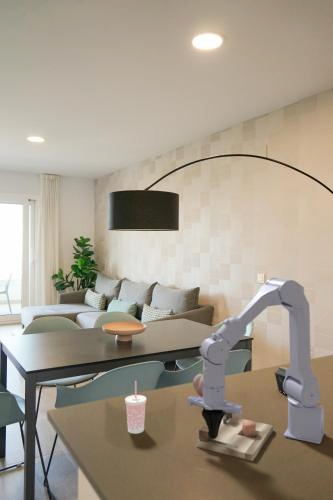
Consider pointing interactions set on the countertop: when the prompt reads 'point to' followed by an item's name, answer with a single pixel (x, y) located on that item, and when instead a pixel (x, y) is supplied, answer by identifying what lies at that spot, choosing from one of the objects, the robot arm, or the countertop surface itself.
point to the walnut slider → (204, 433)
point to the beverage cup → (135, 412)
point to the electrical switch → (280, 378)
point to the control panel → (237, 439)
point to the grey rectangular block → (228, 415)
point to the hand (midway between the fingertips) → (214, 437)
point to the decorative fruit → (198, 383)
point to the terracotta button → (249, 429)
